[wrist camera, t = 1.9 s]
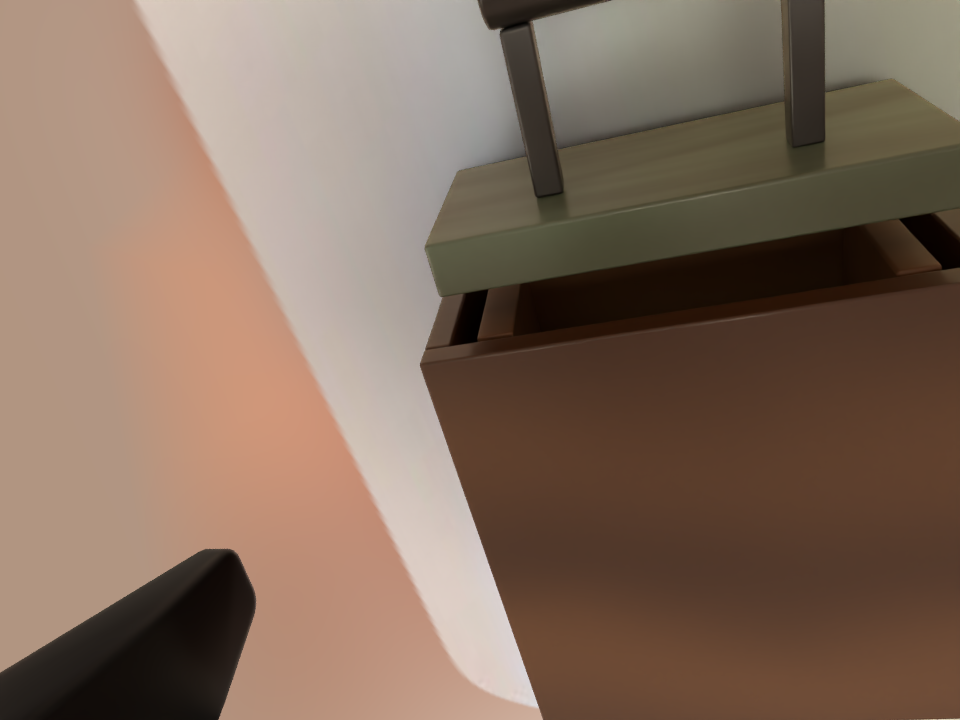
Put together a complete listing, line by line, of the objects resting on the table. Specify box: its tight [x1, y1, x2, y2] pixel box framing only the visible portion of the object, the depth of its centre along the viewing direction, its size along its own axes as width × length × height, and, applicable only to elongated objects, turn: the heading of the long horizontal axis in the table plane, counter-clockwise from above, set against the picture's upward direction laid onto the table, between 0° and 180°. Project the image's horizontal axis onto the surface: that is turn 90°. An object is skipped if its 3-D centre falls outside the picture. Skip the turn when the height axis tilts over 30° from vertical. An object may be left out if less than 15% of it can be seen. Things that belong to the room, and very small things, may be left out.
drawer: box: [425, 0, 960, 342], centre depth 17 cm, size 17×10×5 cm, turn 14°
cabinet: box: [420, 208, 960, 720], centre depth 20 cm, size 13×11×6 cm
